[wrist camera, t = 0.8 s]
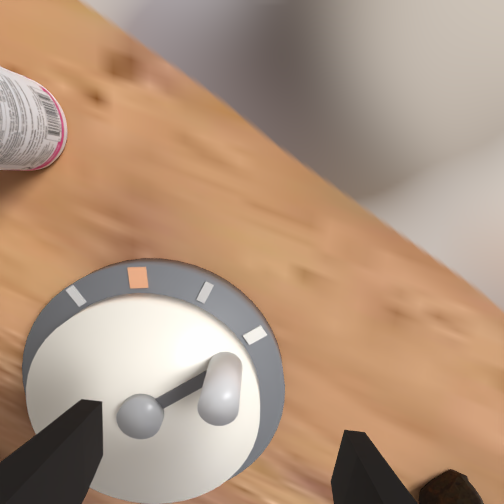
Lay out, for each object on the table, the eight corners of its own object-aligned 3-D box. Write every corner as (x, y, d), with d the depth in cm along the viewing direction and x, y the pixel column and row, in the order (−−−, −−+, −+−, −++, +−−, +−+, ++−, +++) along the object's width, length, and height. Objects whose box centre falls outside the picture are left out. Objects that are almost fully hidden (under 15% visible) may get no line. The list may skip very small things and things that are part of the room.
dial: (131, 509, 20) (97, 598, 16) (-2, 362, 18) (-85, 420, 14) (300, 426, 18) (312, 500, 14) (176, 249, 16) (146, 274, 12)
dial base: (272, 481, 22) (273, 504, 20) (50, 464, 22) (34, 487, 20) (294, 267, 18) (298, 276, 16) (27, 249, 18) (5, 255, 16)
